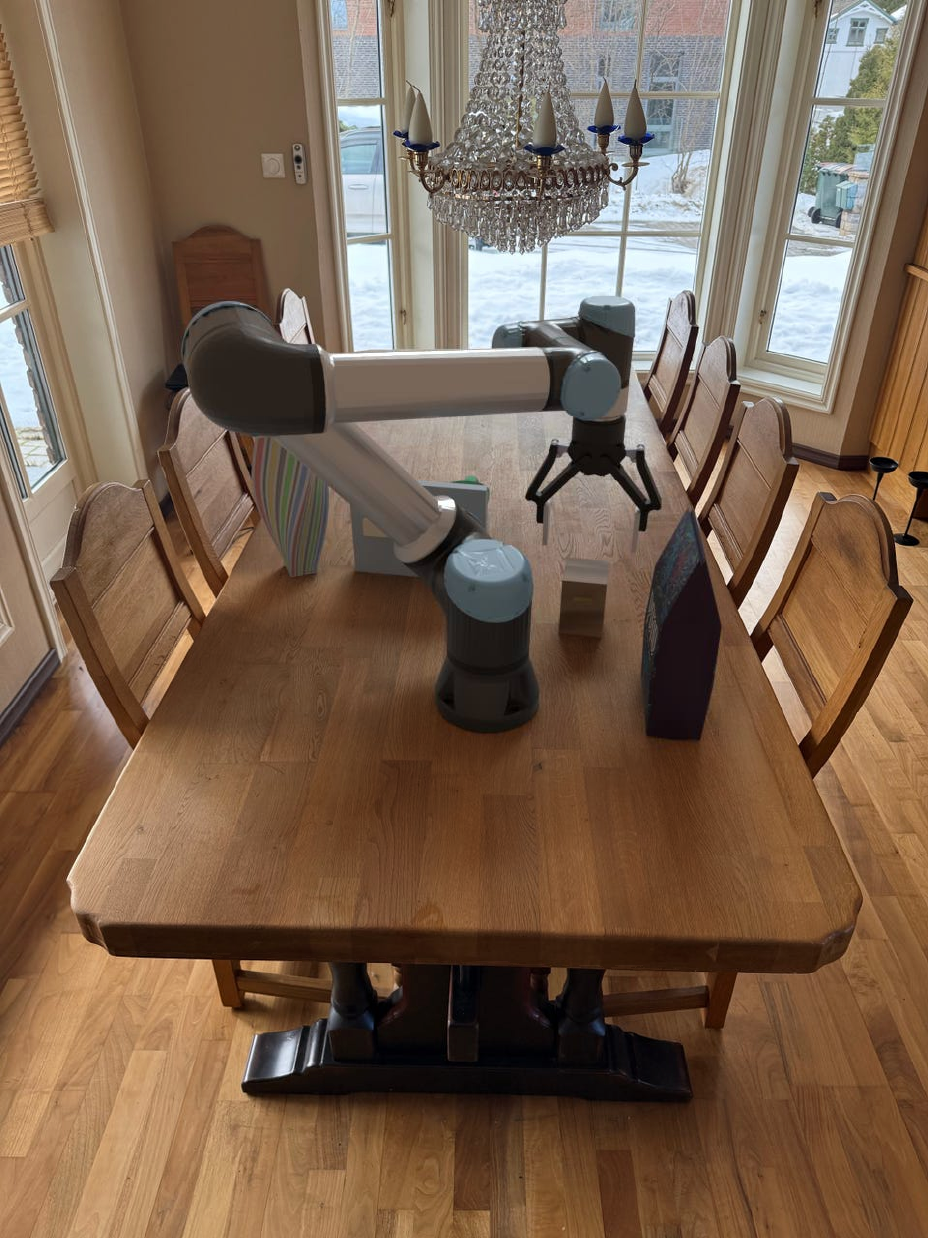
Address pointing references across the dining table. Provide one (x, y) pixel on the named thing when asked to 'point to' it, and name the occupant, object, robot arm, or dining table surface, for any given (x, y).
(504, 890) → the dining table surface
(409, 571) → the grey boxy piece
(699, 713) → the decorative box
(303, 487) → the vase
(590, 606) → the brown block
